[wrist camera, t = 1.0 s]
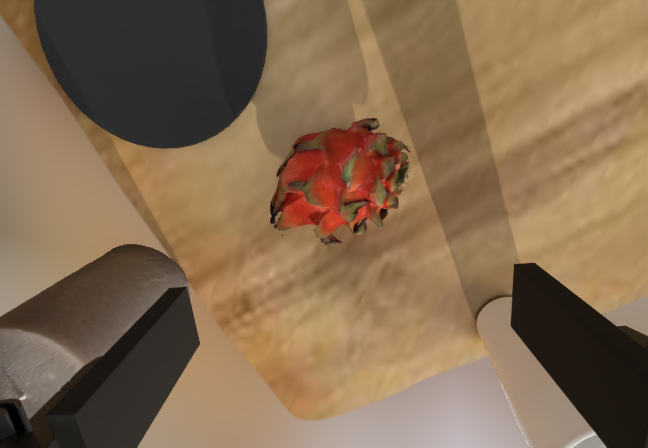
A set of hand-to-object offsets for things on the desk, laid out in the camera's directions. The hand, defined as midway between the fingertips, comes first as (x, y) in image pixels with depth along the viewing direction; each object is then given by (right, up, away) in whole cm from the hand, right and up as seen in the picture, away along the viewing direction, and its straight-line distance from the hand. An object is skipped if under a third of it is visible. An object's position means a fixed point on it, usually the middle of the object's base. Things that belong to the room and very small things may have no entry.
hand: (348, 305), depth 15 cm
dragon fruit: (0, +7, +16) cm, 18 cm away
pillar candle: (-19, -3, +21) cm, 28 cm away
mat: (-14, +18, +14) cm, 27 cm away
